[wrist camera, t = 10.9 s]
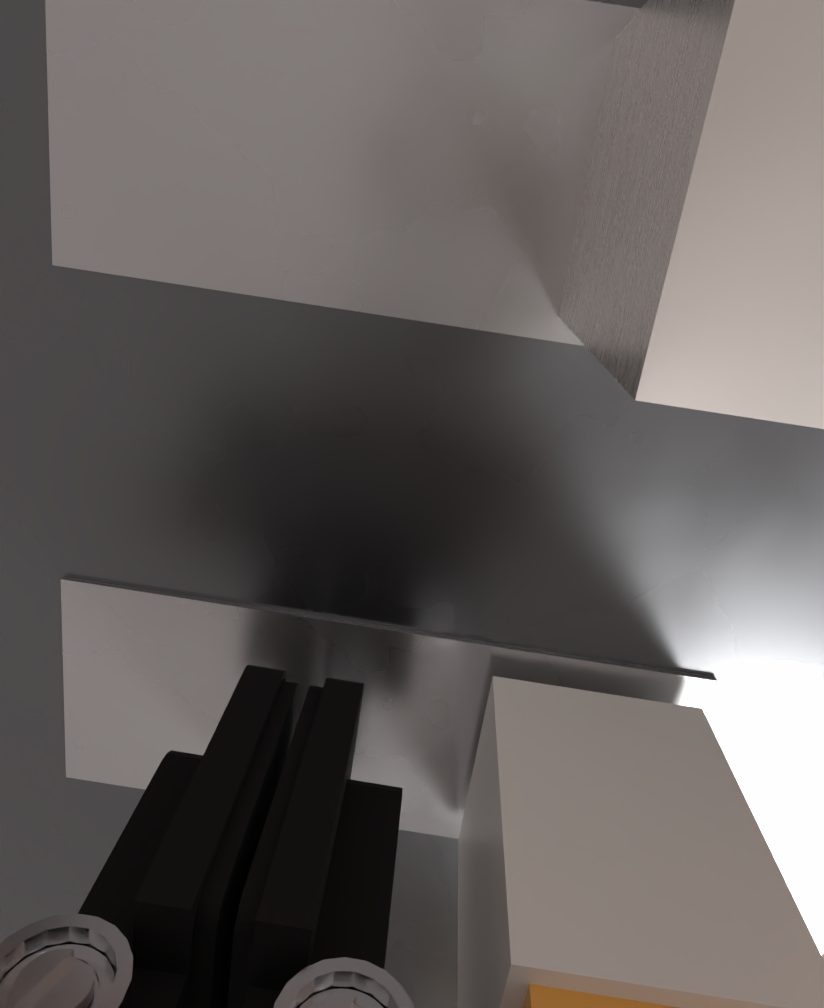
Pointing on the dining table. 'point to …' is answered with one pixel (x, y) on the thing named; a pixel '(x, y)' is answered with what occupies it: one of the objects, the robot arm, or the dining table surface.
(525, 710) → the toggle
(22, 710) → the panel
